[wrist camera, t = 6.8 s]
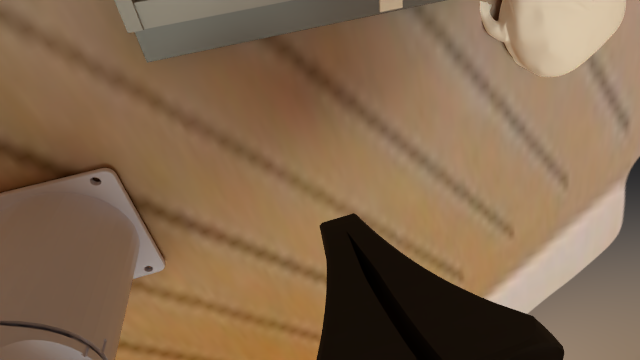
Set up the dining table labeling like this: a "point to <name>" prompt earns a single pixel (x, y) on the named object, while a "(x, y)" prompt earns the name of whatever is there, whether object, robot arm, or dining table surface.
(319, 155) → the dining table surface
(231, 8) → the fader console
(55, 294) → the robot arm
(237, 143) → the dining table surface
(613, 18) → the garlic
